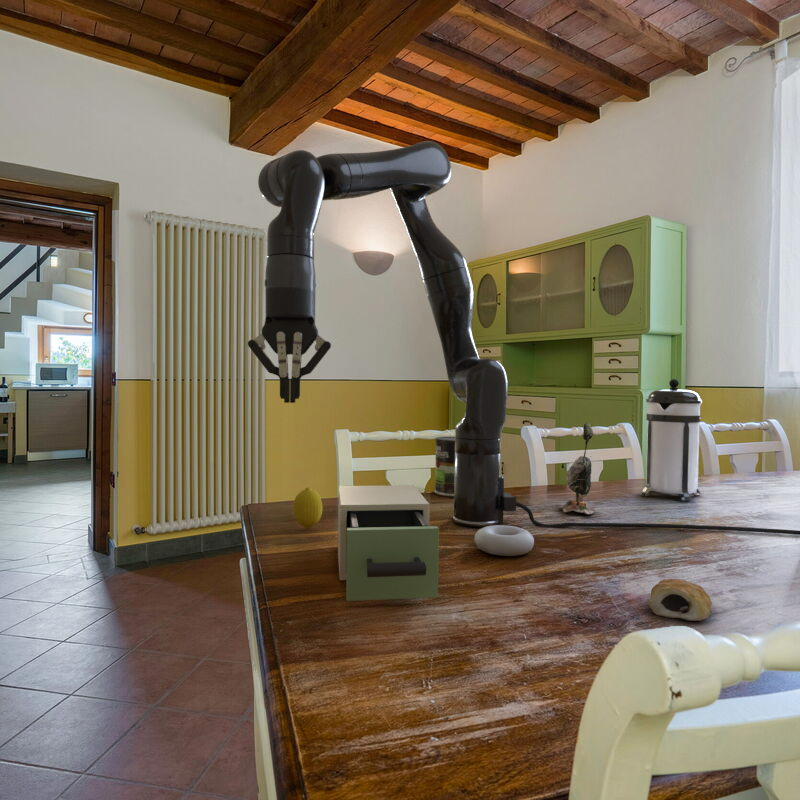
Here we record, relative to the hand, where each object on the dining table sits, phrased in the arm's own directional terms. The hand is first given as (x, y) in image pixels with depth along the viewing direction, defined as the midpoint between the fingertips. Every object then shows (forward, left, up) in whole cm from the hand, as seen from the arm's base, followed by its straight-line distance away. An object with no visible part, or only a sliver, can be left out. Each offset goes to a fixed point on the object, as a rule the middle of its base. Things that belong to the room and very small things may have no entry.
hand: (289, 402), depth 87 cm
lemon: (-4, -20, -25) cm, 32 cm away
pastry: (-48, +27, -25) cm, 61 cm away
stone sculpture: (-64, -26, -25) cm, 74 cm away
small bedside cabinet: (-14, +2, -25) cm, 29 cm away
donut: (-36, -1, -25) cm, 44 cm away
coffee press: (-98, -39, -25) cm, 108 cm away
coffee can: (-43, -50, -25) cm, 71 cm away
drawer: (-13, +15, -24) cm, 31 cm away
